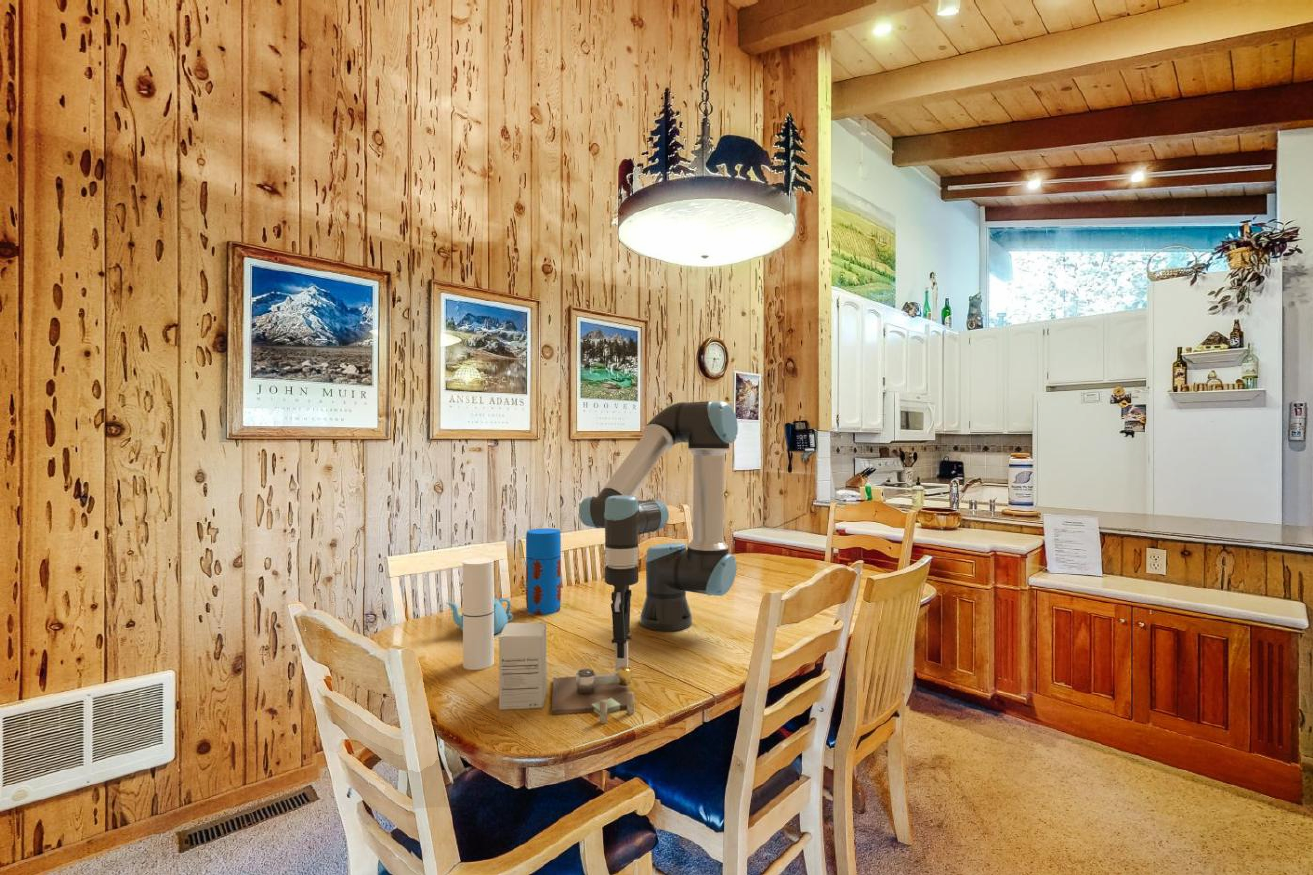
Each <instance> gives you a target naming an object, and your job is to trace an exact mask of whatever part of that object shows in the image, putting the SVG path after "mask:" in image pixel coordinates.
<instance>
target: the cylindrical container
mask: <svg viewBox="0 0 1313 875" xmlns="http://www.w3.org/2000/svg"><path fill="white" fill-rule="evenodd" d="M494 561H495V560H494V559H493V558H489V557H475V558H469V559H465V560H463V561H462V613H463V631H462V667H463V668H464V669H465V670H468V671H480V670H485V669H489V668H490V667H492V666H494V664H495V634H494V598H495V597H494V596H495V591H494V590H495V589H494V588H495V586H494V585H495V582H494V581H495V575H494V574H495V570H494V569H495V568H494V567H495V564H494Z"/></svg>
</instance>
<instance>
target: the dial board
mask: <svg viewBox="0 0 1313 875" xmlns="http://www.w3.org/2000/svg"><path fill="white" fill-rule="evenodd" d="M551 695H552V696H551V701H552V702H551V715H562V714H563V715H564V714H577V713H589V712H590V713H591V712H594V713H596V714H597V715H598V716H599V724H602V725H603V724H607V723H608V714H611V713H613V712H616V711H620V710H621V711H622V710H626V714H628V715H630V716H632V715H634V714H635V692H634V691H629V686H628V685H627V686H621V685H619V683H610V684H595V690H594V691H593V692H590V693H580V692H578V691H577V690H576V676H562V677H553V678H552V693H551Z"/></svg>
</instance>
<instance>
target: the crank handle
mask: <svg viewBox="0 0 1313 875" xmlns="http://www.w3.org/2000/svg"><path fill="white" fill-rule="evenodd" d="M631 670H632V669H631V667H630V666H628V667H620V668H619V672H618V671H617V672H606V673H602V672H601V673H596V672H595V671H594V669H591V668H582V669H579V671H577V673H576V676H575V677H576V690H577V691H578V692H580V693H590V692H593V691H594V690H595V684H610V683H619V685H621V686H627V687H628V686H630V685H631V683H632V682H631V679H632V677H631V672H632V671H631Z"/></svg>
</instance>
